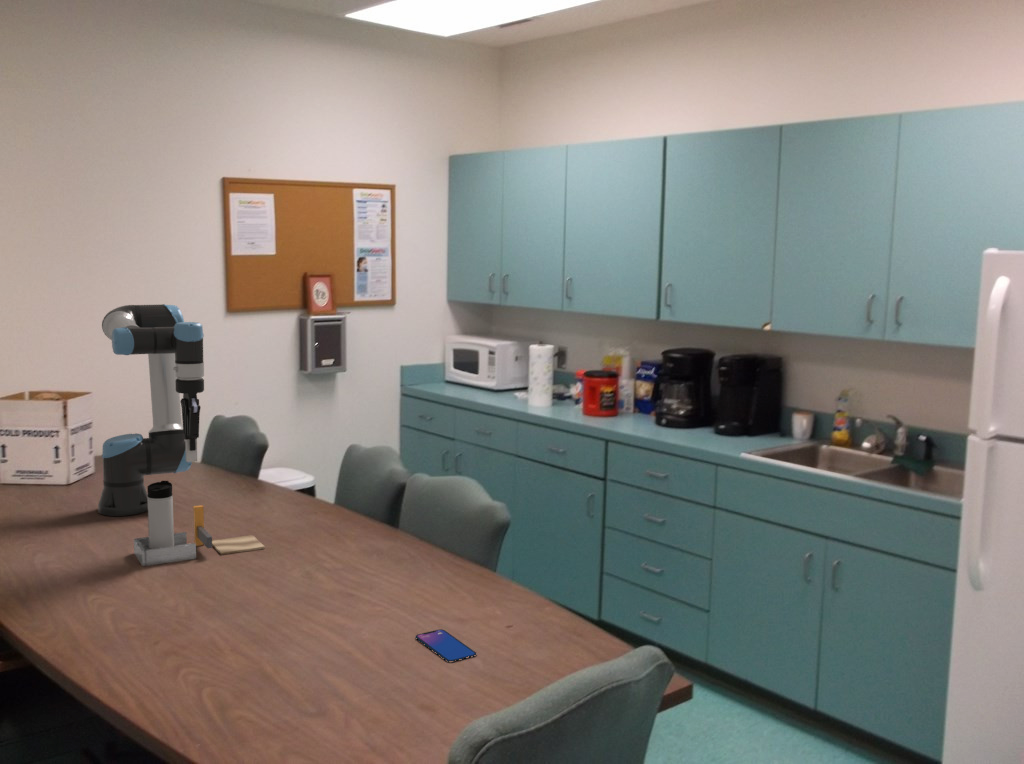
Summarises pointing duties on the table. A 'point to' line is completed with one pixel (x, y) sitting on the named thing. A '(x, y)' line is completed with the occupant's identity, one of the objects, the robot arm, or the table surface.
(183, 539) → the holder
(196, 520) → the bar
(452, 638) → the smartphone
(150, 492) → the travel mug
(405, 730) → the table surface
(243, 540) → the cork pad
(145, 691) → the table surface
